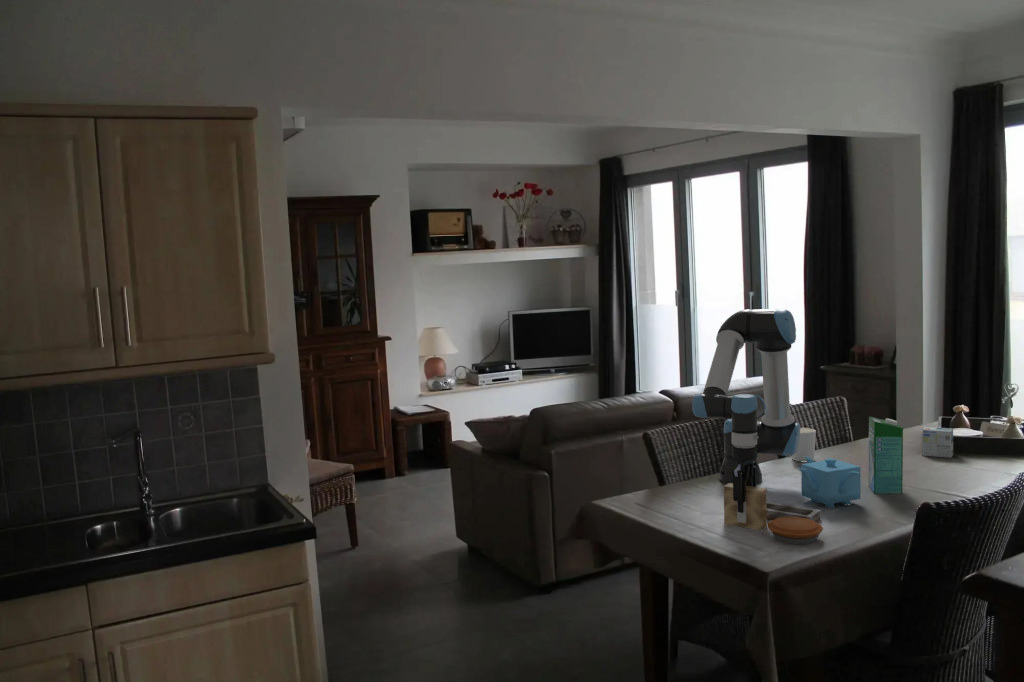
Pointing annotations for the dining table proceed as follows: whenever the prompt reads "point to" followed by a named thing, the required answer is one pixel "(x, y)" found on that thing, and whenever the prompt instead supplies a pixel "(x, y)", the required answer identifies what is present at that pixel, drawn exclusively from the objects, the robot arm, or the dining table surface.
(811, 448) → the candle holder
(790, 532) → the pie
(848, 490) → the blue lidded box
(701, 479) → the dining table surface
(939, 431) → the light bulb box
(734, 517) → the beige square slab
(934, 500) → the dining table surface
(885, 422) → the milk carton
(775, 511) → the tray
